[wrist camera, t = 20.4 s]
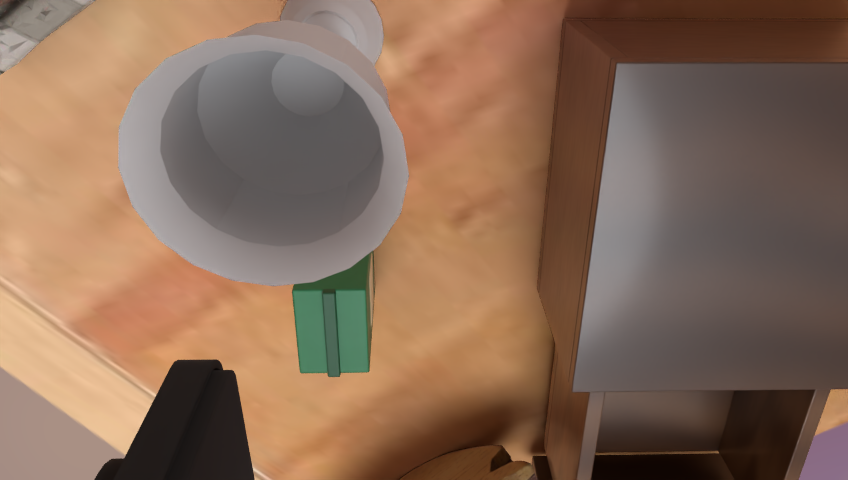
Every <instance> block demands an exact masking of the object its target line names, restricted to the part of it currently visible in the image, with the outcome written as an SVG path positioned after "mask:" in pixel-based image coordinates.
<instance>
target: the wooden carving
mask: <svg viewBox="0 0 848 480" xmlns="http://www.w3.org/2000/svg"><path fill="white" fill-rule="evenodd" d="M399 480H539V479H538V478H537V477H536V475H535V470H534V468H533V467H532V465H531V464H530V463H528V462H525V461H514V462H513V461H512V460H511V456H510V455H509V454H508V453H507V451H506V450H505V449H504V447H503V446H501V445H497V446H494V445H488V446H480V447H474V448H467V449H463V450H459V451H454V452H451V453H448V454H445V455H442V456H440V457H437V458H435V459H433V460H431V461H428V462H426V463H425V464H423V465H421V466H419V467H417V468H416V469H414V470H412V471H411V472H409V473H408V474H406V475H405V476H403V477H402V478H400V479H399Z"/></svg>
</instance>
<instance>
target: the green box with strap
mask: <svg viewBox="0 0 848 480" xmlns="http://www.w3.org/2000/svg"><path fill="white" fill-rule="evenodd" d="M292 295H293V305H294V316H295V326H296V336H297V347H298V357H299V367H300V373H328V377H340V373H356V372H369V368H370V353H371V339H372V324H373V310H374V295H375V286H374V254H373V251H371V252H370V253H369V254H368V255H366V256H365V257H364V258H362V259H361V260H360V261H358V262H357V263H356V264H355V265H353V266H352V267H351V268H349V269H346V270H344V271H341V272H339V273H336V274H333V275H331V276H328V277H325V278H323V279H320V280H317V281H315V282H309V283H300V284H294V286H293V290H292Z"/></svg>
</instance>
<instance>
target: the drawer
mask: <svg viewBox="0 0 848 480" xmlns="http://www.w3.org/2000/svg"><path fill="white" fill-rule="evenodd" d="M830 390H831V389H811V390H730V391H649V392H571V389H570V386H569V383H568V380H567V377H566V374H565V371H564V368H563V365H562V362H561V359H560V356H559V353H558V350H557V347H556V344H555V352H554V361H553V369H552V378H551V387H550V395H549V404H548V412H547V421H546V429H545V438H544V448H545V451H546V455H547V456H533V457H532V467H533V468H534V470H535V475H536V477H537V478H538V479H539V480H799V477H800V474H801V471H802V468H803V466H804V463H805V460H806V457H807V454H808V452H809V449H810V446H811V443H812V440H813V437H814V435H815V432H816V429H817V426H818V423H819V421H820V418H821V415H822V412H823V409H824V407H825V404H826V401H827V398H828V395H829V393H830ZM657 451H719V453H707V454H640V455H595V452H657Z"/></svg>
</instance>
